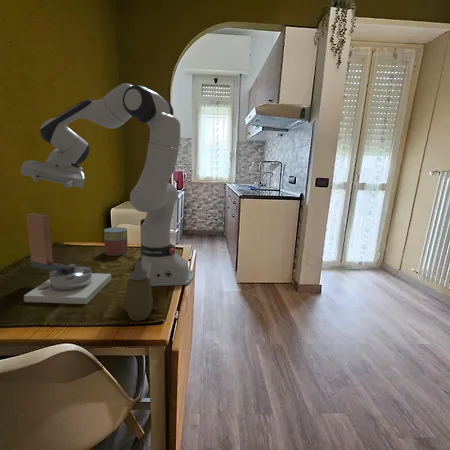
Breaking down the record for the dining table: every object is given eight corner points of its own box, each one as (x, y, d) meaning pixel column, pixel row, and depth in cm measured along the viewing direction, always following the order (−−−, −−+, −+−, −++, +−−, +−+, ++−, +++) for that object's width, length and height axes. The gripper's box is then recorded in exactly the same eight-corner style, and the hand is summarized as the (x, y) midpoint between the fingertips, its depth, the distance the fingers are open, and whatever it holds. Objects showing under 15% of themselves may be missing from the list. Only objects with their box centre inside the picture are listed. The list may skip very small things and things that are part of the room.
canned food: (110, 248, 145) (109, 226, 143) (131, 249, 145) (130, 227, 142) (100, 254, 134) (99, 231, 132) (122, 256, 134) (121, 232, 131)
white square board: (111, 279, 107) (111, 273, 106) (86, 304, 87) (86, 297, 86) (60, 277, 106) (60, 271, 106) (24, 301, 87) (23, 294, 86)
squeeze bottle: (155, 309, 86) (155, 256, 82) (149, 324, 78) (149, 265, 74) (130, 309, 85) (128, 255, 82) (121, 323, 77) (119, 264, 74)
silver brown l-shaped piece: (100, 279, 100) (96, 217, 95) (70, 294, 88) (64, 224, 83) (51, 268, 108) (46, 211, 103) (18, 281, 96) (10, 216, 91)
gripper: (26, 152, 100) (16, 166, 90) (86, 168, 110) (84, 182, 100) (25, 168, 103) (14, 183, 92) (83, 181, 113) (80, 197, 102)
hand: (51, 183), depth 96 cm, fingers open, 8 cm apart
